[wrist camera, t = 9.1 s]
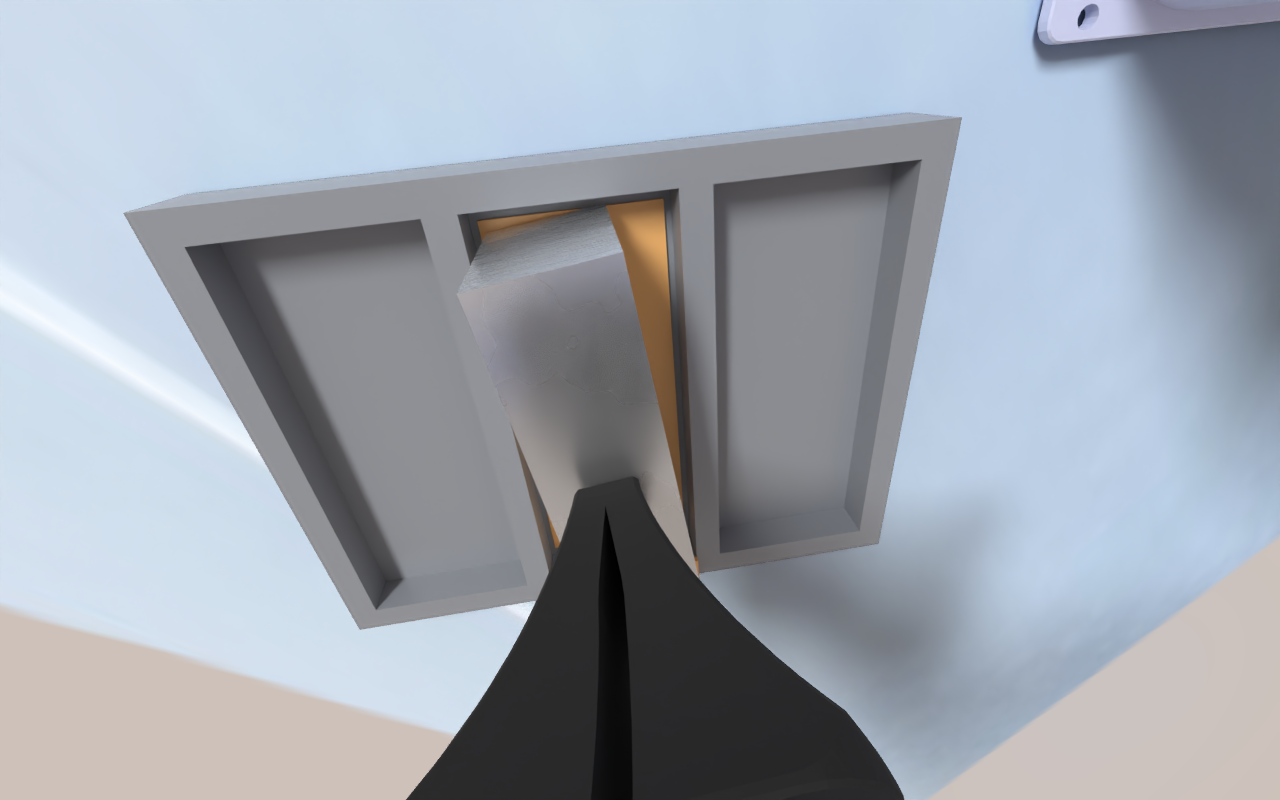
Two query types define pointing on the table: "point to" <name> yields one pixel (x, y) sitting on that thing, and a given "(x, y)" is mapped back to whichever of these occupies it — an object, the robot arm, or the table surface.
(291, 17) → the table surface
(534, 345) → the light grey rectangular block
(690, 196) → the bay rack
